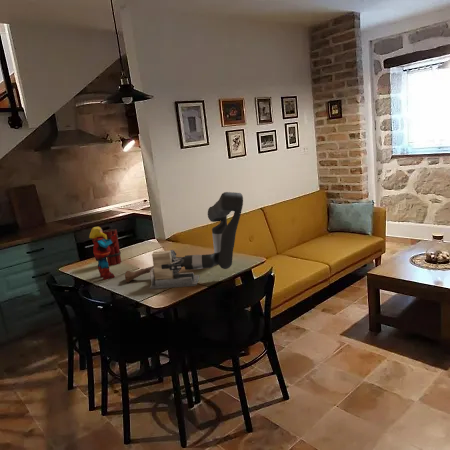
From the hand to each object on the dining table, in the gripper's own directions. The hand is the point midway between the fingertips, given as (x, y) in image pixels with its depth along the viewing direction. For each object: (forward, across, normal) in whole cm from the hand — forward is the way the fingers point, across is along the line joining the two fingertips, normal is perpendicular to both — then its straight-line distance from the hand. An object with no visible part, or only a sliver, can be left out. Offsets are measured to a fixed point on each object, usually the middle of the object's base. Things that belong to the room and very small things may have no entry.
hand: (163, 264), depth 212 cm
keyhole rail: (-5, 0, +10) cm, 12 cm away
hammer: (+9, -10, +11) cm, 17 cm away
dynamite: (+42, -43, +11) cm, 62 cm away
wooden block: (0, 0, +9) cm, 9 cm away
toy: (+36, -16, +11) cm, 41 cm away
